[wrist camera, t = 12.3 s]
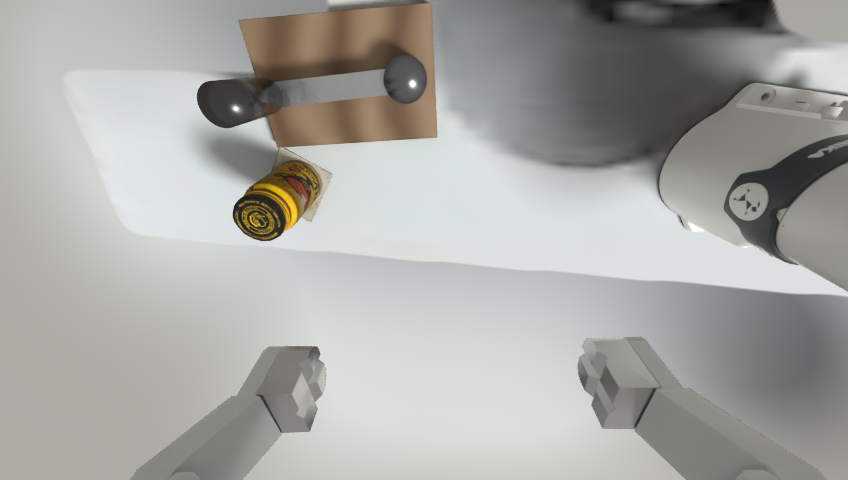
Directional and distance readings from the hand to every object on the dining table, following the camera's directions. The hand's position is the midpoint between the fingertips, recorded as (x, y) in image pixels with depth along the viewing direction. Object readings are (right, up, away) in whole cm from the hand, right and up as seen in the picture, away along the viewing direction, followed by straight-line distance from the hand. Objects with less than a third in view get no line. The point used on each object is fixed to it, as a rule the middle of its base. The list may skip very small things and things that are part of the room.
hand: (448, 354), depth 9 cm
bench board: (-10, +22, +26) cm, 35 cm away
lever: (-10, +21, +24) cm, 33 cm away
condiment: (-18, +11, +33) cm, 39 cm away
